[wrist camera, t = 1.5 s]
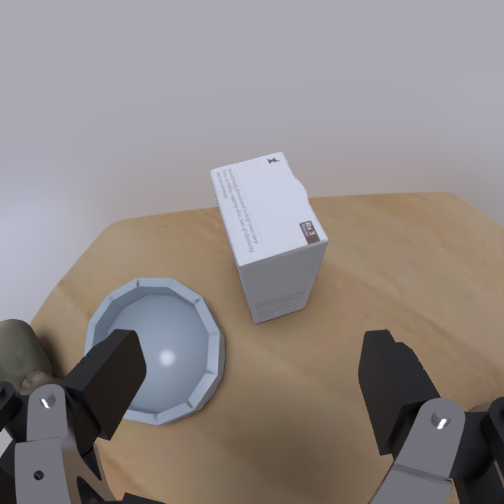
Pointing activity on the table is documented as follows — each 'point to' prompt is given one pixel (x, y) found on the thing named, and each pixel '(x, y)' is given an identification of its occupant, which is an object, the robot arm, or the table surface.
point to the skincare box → (270, 233)
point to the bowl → (165, 346)
